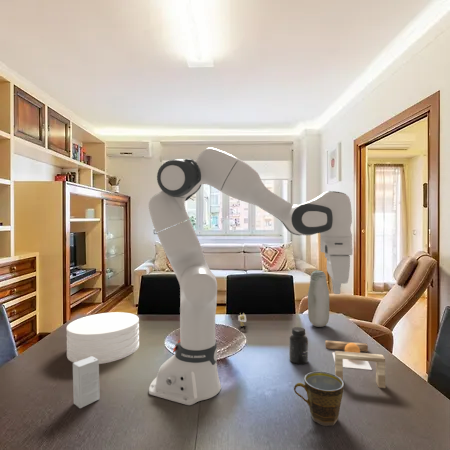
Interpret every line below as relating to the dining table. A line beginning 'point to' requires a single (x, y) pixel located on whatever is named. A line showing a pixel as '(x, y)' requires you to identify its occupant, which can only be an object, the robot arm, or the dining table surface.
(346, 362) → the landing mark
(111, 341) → the plate stack
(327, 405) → the ceramic cup
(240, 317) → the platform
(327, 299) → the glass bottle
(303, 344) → the supplement bottle
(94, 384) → the skincare box
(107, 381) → the dining table surface
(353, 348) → the ball
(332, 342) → the rail
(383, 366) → the bridge
